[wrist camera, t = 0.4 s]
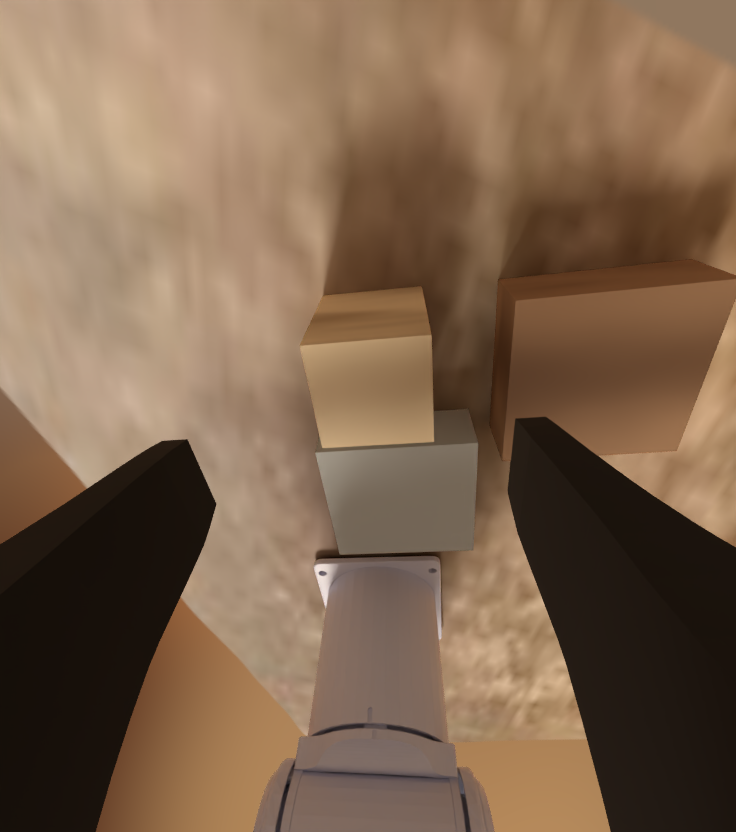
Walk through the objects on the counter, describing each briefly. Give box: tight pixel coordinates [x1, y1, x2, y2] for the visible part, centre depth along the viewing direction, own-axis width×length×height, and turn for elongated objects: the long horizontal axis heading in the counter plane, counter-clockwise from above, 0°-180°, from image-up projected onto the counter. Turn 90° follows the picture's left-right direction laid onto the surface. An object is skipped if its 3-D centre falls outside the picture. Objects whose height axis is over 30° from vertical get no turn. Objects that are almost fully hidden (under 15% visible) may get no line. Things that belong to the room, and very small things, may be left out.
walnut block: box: [490, 259, 736, 461], centre depth 16 cm, size 7×7×3 cm
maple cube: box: [300, 286, 434, 448], centre depth 15 cm, size 4×4×5 cm
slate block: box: [315, 409, 478, 555], centre depth 20 cm, size 7×7×3 cm
